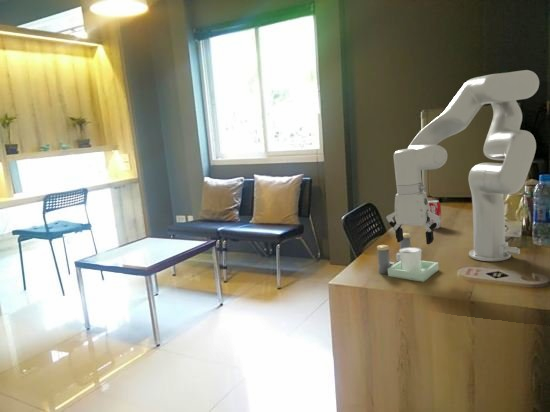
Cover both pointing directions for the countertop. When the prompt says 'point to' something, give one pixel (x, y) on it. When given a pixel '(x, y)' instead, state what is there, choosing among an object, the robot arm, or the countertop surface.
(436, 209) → the soda can
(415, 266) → the white cup
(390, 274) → the tray
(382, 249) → the grey upright cylinders
